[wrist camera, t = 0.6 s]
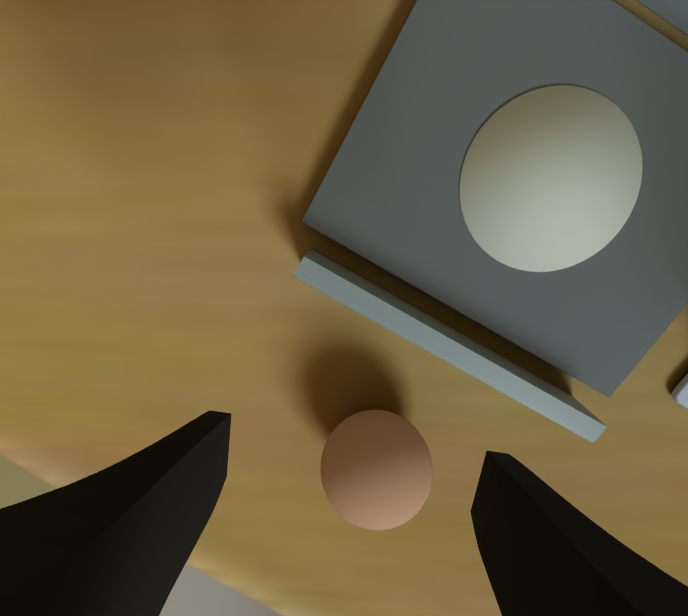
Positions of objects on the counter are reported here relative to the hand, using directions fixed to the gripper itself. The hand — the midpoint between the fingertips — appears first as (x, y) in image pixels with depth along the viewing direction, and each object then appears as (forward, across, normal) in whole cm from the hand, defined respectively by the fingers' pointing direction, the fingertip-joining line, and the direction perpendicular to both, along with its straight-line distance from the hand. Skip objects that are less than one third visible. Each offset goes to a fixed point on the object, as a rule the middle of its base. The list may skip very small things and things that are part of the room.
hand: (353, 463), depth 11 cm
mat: (+10, -8, -9) cm, 16 cm away
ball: (+8, -2, +5) cm, 9 cm away
